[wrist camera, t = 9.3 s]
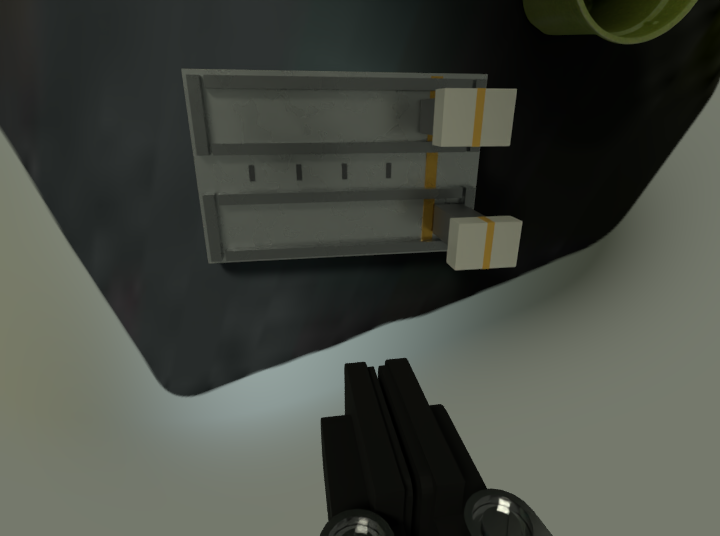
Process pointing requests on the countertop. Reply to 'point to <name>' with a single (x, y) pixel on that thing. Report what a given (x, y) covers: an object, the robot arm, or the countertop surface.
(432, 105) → the white striped slider handle
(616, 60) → the countertop surface
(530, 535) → the robot arm
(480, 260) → the fader knob
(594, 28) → the plant pot
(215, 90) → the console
